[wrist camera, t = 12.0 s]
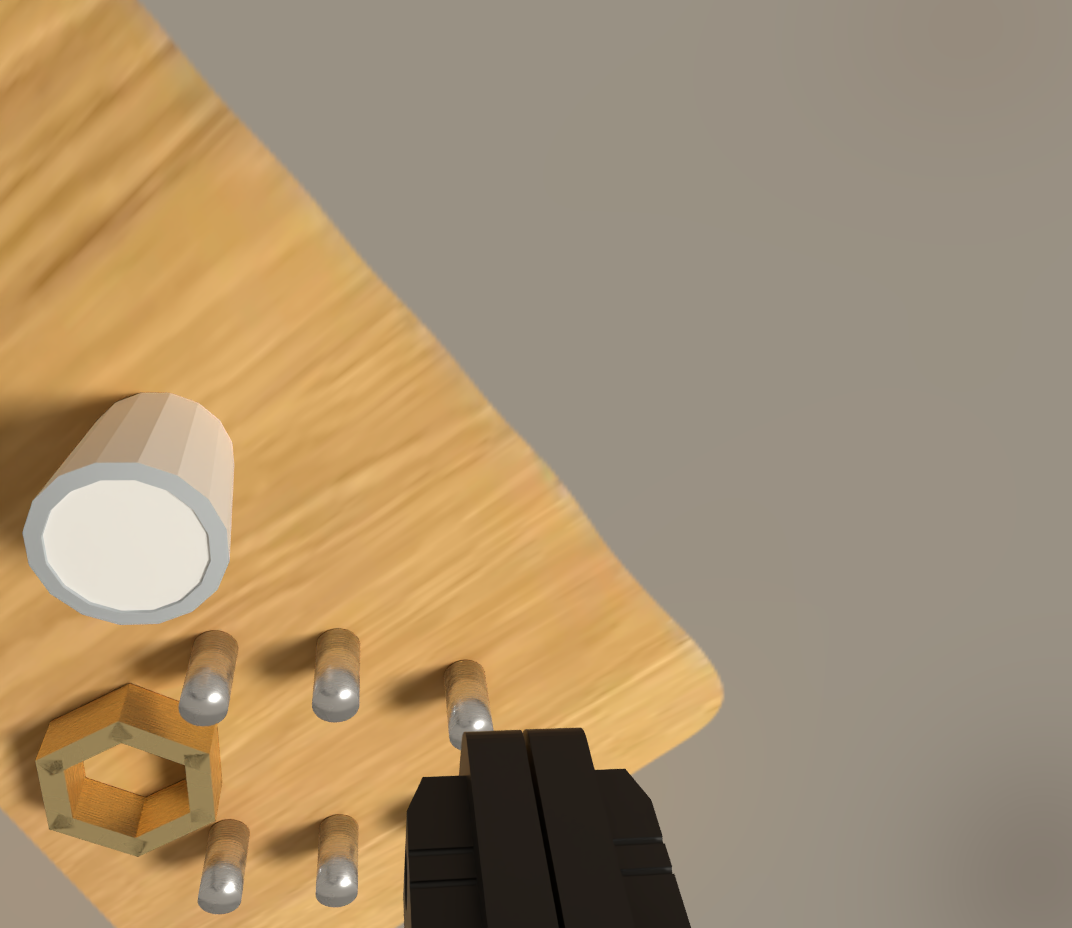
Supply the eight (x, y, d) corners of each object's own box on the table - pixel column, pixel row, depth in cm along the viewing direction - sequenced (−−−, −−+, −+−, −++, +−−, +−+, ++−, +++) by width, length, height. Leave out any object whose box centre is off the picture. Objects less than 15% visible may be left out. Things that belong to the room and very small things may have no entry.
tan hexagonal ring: (68, 819, 50) (55, 861, 48) (43, 685, 46) (27, 724, 44) (225, 812, 51) (218, 852, 49) (213, 680, 47) (206, 718, 45)
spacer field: (210, 848, 52) (199, 915, 49) (191, 630, 46) (176, 690, 42) (471, 835, 55) (478, 898, 51) (489, 626, 48) (498, 682, 45)
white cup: (106, 538, 43) (62, 643, 37) (47, 393, 40) (-11, 482, 34) (268, 509, 43) (251, 608, 37) (224, 363, 40) (198, 446, 34)
